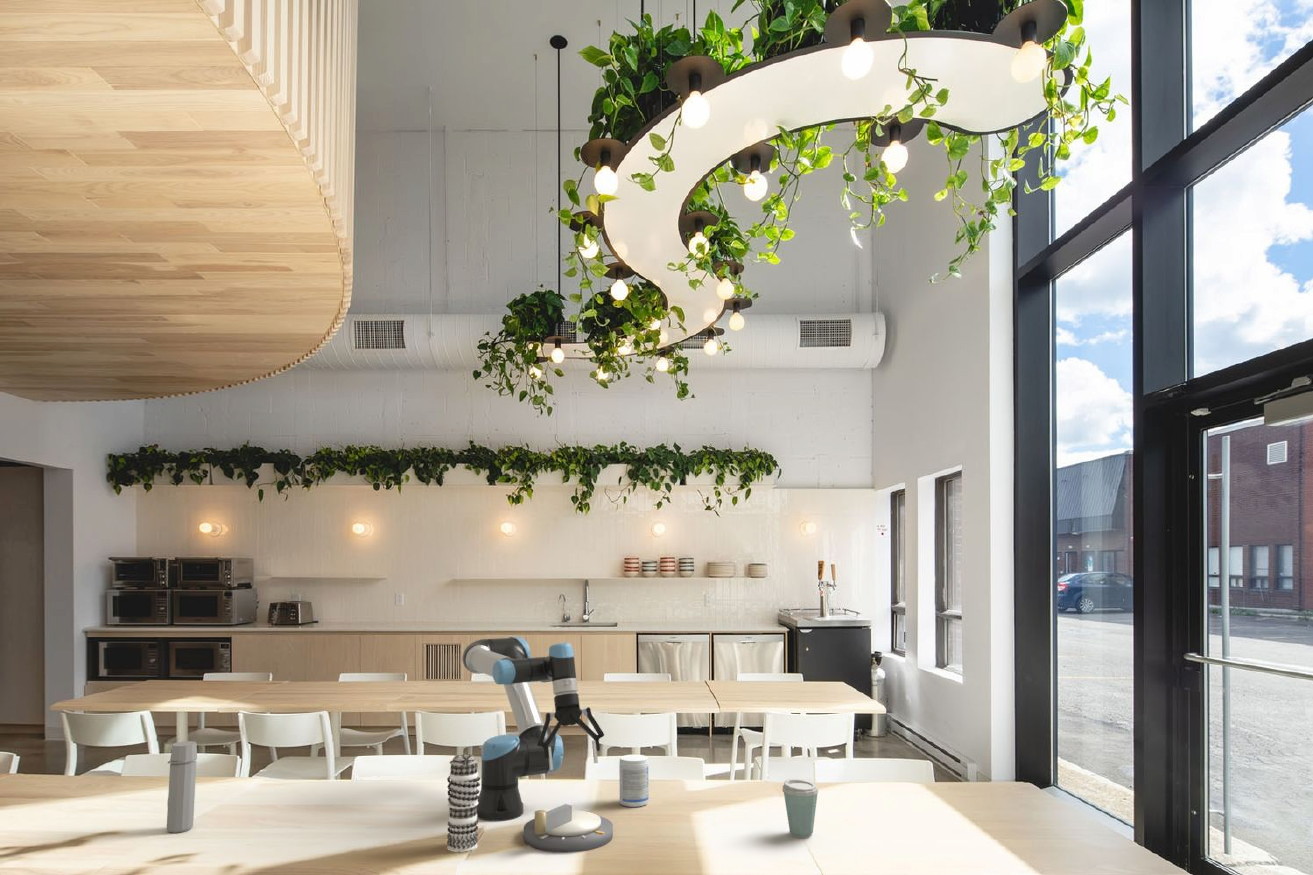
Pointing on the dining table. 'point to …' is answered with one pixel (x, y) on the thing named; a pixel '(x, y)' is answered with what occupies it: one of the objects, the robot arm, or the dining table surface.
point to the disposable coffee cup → (800, 806)
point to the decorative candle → (463, 803)
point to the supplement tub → (634, 780)
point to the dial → (566, 822)
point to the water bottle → (181, 787)
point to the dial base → (568, 839)
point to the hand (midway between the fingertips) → (573, 766)
